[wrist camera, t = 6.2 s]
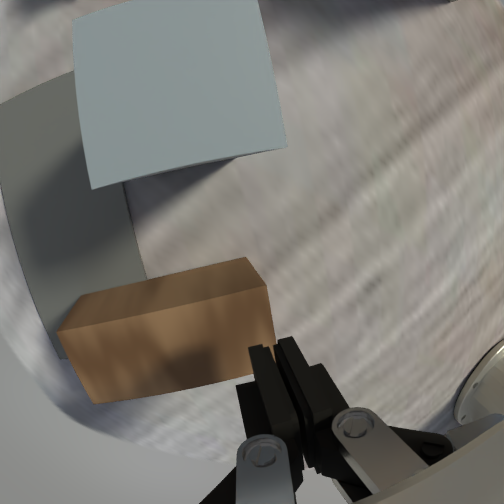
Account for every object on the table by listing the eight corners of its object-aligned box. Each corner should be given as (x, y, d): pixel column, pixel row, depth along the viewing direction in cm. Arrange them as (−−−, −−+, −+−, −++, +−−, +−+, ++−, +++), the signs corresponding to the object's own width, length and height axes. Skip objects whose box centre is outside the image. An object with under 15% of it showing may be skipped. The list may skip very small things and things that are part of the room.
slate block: (236, 157, 16) (287, 146, 7) (153, 175, 16) (91, 189, 6) (221, 79, 15) (253, -18, 5) (139, 96, 14) (72, 19, 5)
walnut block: (280, 365, 15) (93, 404, 13) (258, 324, 19) (107, 358, 18) (266, 285, 14) (56, 332, 12) (245, 256, 18) (81, 295, 16)
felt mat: (167, 340, 18) (166, 343, 18) (61, 357, 18) (60, 359, 17) (104, 61, 13) (102, 60, 13) (-6, 109, 13) (-8, 109, 12)
